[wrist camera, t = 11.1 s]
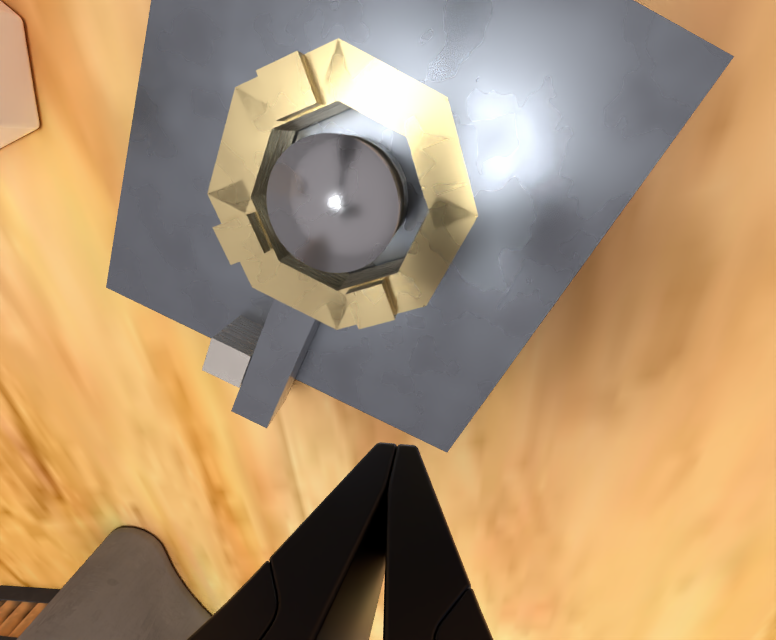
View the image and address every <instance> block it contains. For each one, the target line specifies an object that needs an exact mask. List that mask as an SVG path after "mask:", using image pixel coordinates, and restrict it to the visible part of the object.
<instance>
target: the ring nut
mask: <svg viewBox="0 0 776 640" xmlns="http://www.w3.org/2000/svg"><path fill="white" fill-rule="evenodd" d="M256 72H257V75H258V77H256V78H253V79H251V80H249V81H247V82H245V83H243V84H241V85H239V86H237V87H235V90H234V94H233V97H232V101H231V105H230V109H229V113H228V117H227V120H226V124H225V128H224V132H223V136H222V139H221V143H220V147H219V151H218V155H217V159H216V162H215V166H214V170H213V174H212V178H211V182H210V185H209V189H208V193H207V194H208V196H209V198H210V201H211V203H212V205H213V207H214V209H215V211H216V213H217V215H218V217H219V219H220V221H221V224H220V225H217V226H214V227H212V228H213V230H214V232H215V234H216V236H217V238H218V240H219V242H220V244H221V246H222V248H223V250H224V252H225V254H226V256H227V258H228V260H229V263H230V265H232V264H235V263H238V262H240V263H241V265H242V267H243V269H244V272H245V274H246V276H247V278H248V280H249V282H250V284H251V286H252V288H254V289H256V290H258V291H260V292H262V293H264V294H266V295H268V296H270V297H272V298H274V300H273V303H272V305H271V308H270V311H269V313H268V316H267V319H266V321H265V324H264V326H263V329H262V332H261V334H260V337H259V340H258V342H257V345H256V348H255V350H254V353H253V355H252V358H251V361H250V363H249V366H248V369H247V371H246V374H245V377H244V379H243V382H242V384H241V387H240V390H239V392H238V395H237V398H236V400H235V403H234V406H233V408H232V412H234V413H236V414H238V415H241V416H243V417H245V418H247V419H249V420H251V421H253V422H255V423H257V424H259V425H261V426H263V427H265V428H267V427H268V426H269V424H270V423H271V421H272V420H273V418H274V417H275V415H276V413H277V412H278V410H279V409H280V407H281V406H282V404H283V403H284V401H285V400H286V397H287V395H288V393H289V391H290V389H291V386H292V384H293V382H294V380H295V377H296V375H297V373H298V371H299V369H300V366H301V364H302V362H303V360H304V358H305V355H306V353H307V351H308V349H309V346H310V344H311V342H312V340H313V338H314V335H315V333H316V331H317V329H318V326H319V324H320V322H322V323H324V324H326V325H328V326H330V327H332V328H334V329H336V330H338V329H342V328H346V327H349V326H353V325H357V326H358V329H362V328H366V327H370V326H374V325H377V324H381V323H385V322H389V321H393V320H395V318H396V315H397V314H398V313H402V312H406V311H409V310H413V309H417V308H420V307H424V306H427V304H428V302H429V300H430V299H431V297H432V295H433V293H434V292H435V290H436V288H437V286H438V285H439V283H440V281H441V280H442V278H443V276H444V274H445V273H446V271H447V269H448V267H449V266H450V264H451V262H452V260H453V259H454V257H455V255H456V253H457V252H458V250H459V248H460V247H461V245H462V243H463V241H464V240H465V238H466V236H467V234H468V233H469V231H470V229H471V227H472V226H473V224H474V222H475V220H476V219H477V217H478V213H477V209H476V205H475V201H474V197H473V193H472V190H471V186H470V182H469V178H468V174H467V170H466V166H465V163H464V159H463V155H462V151H461V147H460V143H459V139H458V136H457V132H456V128H455V124H454V120H453V116H452V112H451V108H450V105H449V101H448V97H446V96H444V95H442V94H440V93H439V92H437V91H435V90H433V89H431V88H429V87H428V86H426V85H424V84H422V83H420V82H418V81H417V80H415V79H413V78H411V77H409V76H407V75H405V74H404V73H402V72H400V71H398V70H396V69H394V68H393V67H391V66H389V65H387V64H385V63H383V62H382V61H380V60H378V59H376V58H374V57H372V56H371V55H369V54H367V53H365V52H363V51H361V50H359V49H358V48H356V47H354V46H352V45H350V44H348V43H347V42H345V41H343V40H341V39H339V38H338V39H336V40H334V41H331V42H329V43H327V44H325V45H323V46H321V47H319V48H317V49H315V50H312V51H310V52H308V53H306V54H302V53H301V52H299V51H295V52H293V53H291V54H289V55H287V56H285V57H283V58H281V59H279V60H277V61H275V62H273V63H270V64H268V65H266V66H264V67H262V68H260V69H258V70H256ZM350 108H353V109H355V110H357V111H359V112H361V113H363V114H365V115H366V116H368V117H370V118H372V119H374V120H376V121H378V122H380V123H381V124H383V125H385V126H387V127H389V128H391V129H393V130H395V131H396V132H398V133H400V134H402V135H404V136H406V137H407V139H408V143H409V146H410V149H411V155H412V159H413V162H414V165H415V169H416V172H417V175H418V179H419V182H420V185H421V189H422V192H423V195H424V199H425V200H426V203H427V206H428V210H429V211H428V212H427V214H426V216H425V218H424V220H423V222H422V224H421V226H420V228H419V230H418V232H417V234H416V236H415V238H414V240H413V242H412V243H411V245H410V247H409V249H408V251H407V253H406V255H405V257H404V258H401V259H398V260H395V261H391V262H388V263H385V264H381V265H378V266H375V267H372V268H368V269H365V270H362V271H358V272H355V273H352V274H350V273H348V272H343V273H331V272H324V271H321V270H317V269H314V268H312V267H310V266H308V265H306V264H304V263H302V262H301V261H299V260H298V259H297V258H295V257H294V256H293V255H292V254H291V253H290V252H289V251H288V250H287V249H286V248H285V247H284V246H283V244H282V243H281V242H280V240H279V239H278V237H277V235H276V233H275V231H274V229H273V227H272V224H271V222H270V219H269V215H268V210H267V185H268V181H269V177H270V174H271V171H272V169H273V167H274V165H275V163H276V161H277V160H278V158H279V157H280V156H281V154H282V153H283V152H284V151H285V150H286V149H287V148H288V147H289V146H291V144H292V141H293V138H294V135H295V132H296V131H298V130H300V129H302V128H305V127H307V126H309V125H312V124H314V123H317V122H319V121H321V120H324V119H326V118H328V117H331V116H333V115H336V114H338V113H340V112H343V111H345V110H347V109H350Z"/></svg>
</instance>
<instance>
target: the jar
mask: <svg viewBox="0 0 776 640" xmlns="http://www.w3.org/2000/svg"><path fill="white" fill-rule="evenodd" d="M39 125H40V123H39V117H38V111H37V105H36V99H35V93H34V87H33V80H32V74H31V68H30V62H29V56H28V50H27V44H26V37H25V31H24V25H23V21H22V19H21V18H20V17H19V16H18V15H17V14H16V13H15V12H14V11H13V10H11V9H10V8H9V7H8V6H7V5H5V4H4V3H3V2H2V1H1V0H0V148H2V147H4V146H6V145H8V144H10V143H12V142H14V141H15V140H17V139H19V138H21V137H23V136H25V135H27V134H29V133H31V132H32V131H34V130H36V129H38V127H39Z"/></svg>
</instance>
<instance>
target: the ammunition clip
mask: <svg viewBox="0 0 776 640" xmlns="http://www.w3.org/2000/svg"><path fill="white" fill-rule="evenodd" d="M60 590H61V589H47V588H32V587H18V586H3V585H1V586H0V640H17V638H18V637H19V636H20V635H21V634H22V633H23V632H24V630H25V629H26V628H27V627H28V626H29V625H30V624H31V623H32V621H33V620H34V619H35V618H36V617H37V616H38V615H39V614H40V612H41V611H42V610H43V609H44V608H45V607H46V606H47V605H48V603H49V602H50V601H51V600H52V599H53V598H54V597H55V595H56V594H57V593H58V592H59V591H60Z"/></svg>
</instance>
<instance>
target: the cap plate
mask: <svg viewBox="0 0 776 640" xmlns="http://www.w3.org/2000/svg"><path fill="white" fill-rule="evenodd" d="M338 38H339V39H341V40H343V41H345V42H347V43H348V44H350V45H352V46H354V47H356V48H358V49H359V50H361V51H363V52H365V53H367V54H369V55H371V56H372V57H374V58H376V59H378V60H380V61H382V62H383V63H385V64H387V65H389V66H391V67H393V68H394V69H396V70H398V71H400V72H402V73H404V74H405V75H407V76H409V77H411V78H413V79H415V80H417V81H418V82H420V83H422V84H424V85H426V86H428V87H429V88H431V89H433V90H435V91H437V92H439V93H440V94H442V95H444V96H446V97H448V101H449V105H450V108H451V112H452V116H453V120H454V124H455V128H456V132H457V136H458V139H459V143H460V147H461V151H462V155H463V159H464V163H465V166H466V170H467V174H468V178H469V182H470V186H471V190H472V193H473V197H474V201H475V205H476V209H477V213H478V217H477V219H476V220H475V222H474V224H473V226H472V227H471V229H470V231H469V233H468V234H467V236H466V238H465V240H464V241H463V243H462V245H461V247H460V248H459V250H458V252H457V253H456V255H455V257H454V259H453V260H452V262H451V264H450V266H449V267H448V269H447V271H446V273H445V274H444V276H443V278H442V280H441V281H440V283H439V285H438V286H437V288H436V290H435V292H434V293H433V295H432V297H431V299H430V300H429V302H428V304H427V306H424V307H420V308H417V309H413V310H409V311H406V312H402V313H398V314H397V315H396V318H395V320H393V321H389V322H385V323H381V324H377V325H374V326H370V327H366V328H362V329H358V326H357V325H353V326H349V327H346V328H342V329H338V330H336V329H334V328H332V327H330V326H328V325H326V324H324V323H322V322H320V324H319V326H318V329H317V331H316V333H315V335H314V338H313V340H312V342H311V344H310V346H309V349H308V351H307V353H306V355H305V358H304V360H303V362H302V364H301V366H300V369H299V371H298V373H297V375H296V377H295V379H296V380H298V381H301V382H303V383H305V384H307V385H309V386H311V387H313V388H315V389H317V390H319V391H321V392H323V393H325V394H327V395H329V396H331V397H334V398H336V399H338V400H340V401H342V402H344V403H346V404H348V405H350V406H352V407H354V408H356V409H358V410H360V411H362V412H364V413H367V414H369V415H371V416H373V417H375V418H377V419H379V420H381V421H383V422H385V423H387V424H389V425H391V426H393V427H395V428H398V429H400V430H402V431H404V432H406V433H408V434H410V435H412V436H414V437H416V438H418V439H420V440H422V441H424V442H426V443H428V444H431V445H433V446H435V447H437V448H439V449H441V450H443V451H445V452H448V450H449V449H450V448H451V446H452V445H453V444H454V442H455V441H456V439H457V438H458V437H459V435H460V434H461V433H462V431H463V430H464V428H465V427H466V426H467V424H468V423H469V421H470V420H471V419H472V417H473V416H474V415H475V413H476V412H477V410H478V409H479V408H480V406H481V405H482V404H483V402H484V401H485V399H486V398H487V397H488V395H489V394H490V393H491V391H492V390H493V388H494V387H495V386H496V384H497V383H498V381H499V380H500V379H501V377H502V376H503V375H504V373H505V372H506V370H507V369H508V368H509V366H510V365H511V364H512V362H513V361H514V359H515V358H516V357H517V355H518V354H519V352H520V351H521V350H522V348H523V347H524V346H525V344H526V343H527V341H528V340H529V339H530V337H531V336H532V335H533V333H534V332H535V330H536V329H537V328H538V326H539V325H540V324H541V322H542V321H543V319H544V318H545V317H546V315H547V314H548V312H549V311H550V310H551V308H552V307H553V306H554V304H555V303H556V301H557V300H558V299H559V297H560V296H561V295H562V293H563V292H564V290H565V289H566V288H567V286H568V285H569V283H570V282H571V281H572V279H573V278H574V277H575V275H576V274H577V272H578V271H579V270H580V268H581V267H582V266H583V264H584V263H585V261H586V260H587V259H588V257H589V256H590V255H591V253H592V252H593V250H594V249H595V248H596V246H597V245H598V243H599V242H600V241H601V239H602V238H603V237H604V235H605V234H606V232H607V231H608V230H609V228H610V227H611V226H612V224H613V223H614V221H615V220H616V219H617V217H618V216H619V215H620V213H621V212H622V210H623V209H624V208H625V206H626V205H627V203H628V202H629V201H630V199H631V198H632V197H633V195H634V194H635V192H636V191H637V190H638V188H639V187H640V186H641V184H642V183H643V181H644V180H645V179H646V177H647V176H648V174H649V173H650V172H651V170H652V169H653V168H654V166H655V165H656V163H657V162H658V161H659V159H660V158H661V157H662V155H663V154H664V152H665V151H666V150H667V148H668V147H669V146H670V144H671V143H672V141H673V140H674V139H675V137H676V136H677V134H678V133H679V132H680V130H681V129H682V128H683V126H684V125H685V123H686V122H687V121H688V119H689V118H690V117H691V115H692V114H693V112H694V111H695V110H696V108H697V107H698V105H699V104H700V103H701V101H702V100H703V99H704V97H705V96H706V94H707V93H708V92H709V90H710V89H711V88H712V86H713V85H714V83H715V82H716V81H717V79H718V78H719V77H720V75H721V74H722V72H723V71H724V70H725V68H726V67H727V65H728V64H729V63H730V61H731V60H732V59H733V57H734V56H732V55H730V54H729V53H727V52H725V51H723V50H721V49H720V48H718V47H716V46H714V45H713V44H711V43H709V42H707V41H705V40H704V39H702V38H700V37H698V36H696V35H695V34H693V33H691V32H689V31H687V30H686V29H684V28H682V27H680V26H679V25H677V24H675V23H673V22H671V21H670V20H668V19H666V18H664V17H662V16H661V15H659V14H657V13H655V12H653V11H652V10H650V9H648V8H646V7H645V6H643V5H641V4H639V3H637V2H636V1H634V0H151V6H150V12H149V19H148V25H147V31H146V38H145V44H144V50H143V57H142V63H141V69H140V76H139V82H138V89H137V95H136V101H135V108H134V114H133V120H132V127H131V133H130V139H129V146H128V152H127V158H126V165H125V171H124V177H123V184H122V190H121V196H120V203H119V209H118V216H117V222H116V228H115V235H114V241H113V247H112V254H111V260H110V266H109V273H108V279H107V285H106V288H109V289H111V290H113V291H115V292H117V293H119V294H121V295H123V296H125V297H127V298H129V299H131V300H133V301H135V302H137V303H140V304H142V305H144V306H146V307H148V308H150V309H152V310H154V311H156V312H158V313H160V314H162V315H164V316H166V317H168V318H170V319H173V320H175V321H177V322H179V323H181V324H183V325H185V326H187V327H189V328H191V329H193V330H195V331H197V332H199V333H201V334H203V335H206V336H208V337H210V338H212V339H211V342H210V346H209V349H208V352H207V355H206V359H205V362H204V365H203V368H202V370H203V371H205V372H207V373H209V374H212V375H214V376H216V377H218V378H220V379H222V380H224V381H226V382H228V383H230V384H232V385H234V386H237V387H239V388H240V386H241V384H242V382H243V379H244V377H245V374H246V371H247V369H248V366H249V363H250V361H251V358H252V355H253V353H254V350H255V348H256V345H257V342H258V340H259V337H260V334H261V332H262V329H263V326H264V324H265V321H266V319H267V316H268V313H269V311H270V308H271V305H272V303H273V300H274V298H272V297H270V296H268V295H266V294H264V293H262V292H260V291H258V290H256V289H254V288H252V286H251V284H250V282H249V280H248V278H247V276H246V274H245V272H244V269H243V267H242V265H241V263H240V262H238V263H235V264H232V265H230V263H229V260H228V258H227V256H226V254H225V252H224V250H223V248H222V246H221V244H220V242H219V240H218V238H217V236H216V234H215V232H214V230H213V228H212V227H214V226H217V225H220V224H221V221H220V219H219V217H218V215H217V213H216V211H215V209H214V207H213V205H212V203H211V201H210V198H209V196H208V194H207V193H208V189H209V185H210V182H211V178H212V174H213V170H214V166H215V162H216V159H217V155H218V151H219V147H220V143H221V139H222V136H223V132H224V128H225V124H226V120H227V117H228V113H229V109H230V105H231V101H232V97H233V94H234V90H235V87H237V86H239V85H241V84H243V83H245V82H247V81H249V80H251V79H253V78H256V77H258V75H257V72H256V70H258V69H260V68H262V67H264V66H266V65H268V64H270V63H273V62H275V61H277V60H279V59H281V58H283V57H285V56H287V55H289V54H291V53H293V52H295V51H299V52H301V53H302V54H306V53H308V52H310V51H312V50H315V49H317V48H319V47H321V46H323V45H325V44H327V43H329V42H331V41H334V40H336V39H338ZM267 210H268V215H269V219H270V222H271V224H272V227H273V229H274V231H275V233H276V235H277V237H278V239H279V240H280V242H281V243H282V244H283V246H284V247H285V248H286V249H287V250H288V251H289V252H290V253H291V254H292V255H293V256H294V257H295V258H297V259H298V260H299V261H301V262H302V263H304V264H306V265H308V266H310V267H312V268H314V269H317V270H321V271H324V272H331V273H343V272H348V273H350V274H352V273H355V272H358V271H362V270H365V269H368V268H372V267H375V266H378V265H381V264H385V263H388V262H391V261H395V260H398V259H401V258H404V257H405V255H406V253H407V251H408V249H409V247H410V245H411V243H412V242H413V240H414V238H415V236H416V234H417V232H418V230H419V228H420V226H421V224H422V222H423V220H424V218H425V216H426V214H427V212H428V211H429V210H428V206H427V203H426V200H425V199H424V195H423V192H422V189H421V185H420V182H419V179H418V175H417V172H416V169H415V165H414V162H413V159H412V155H411V149H410V146H409V143H408V139H407V137H406V136H404V135H402V134H400V133H398V132H396V131H395V130H393V129H391V128H389V127H387V126H385V125H383V124H381V123H380V122H378V121H376V120H374V119H372V118H370V117H368V116H366V115H365V114H363V113H361V112H359V111H357V110H355V109H353V108H350V109H347V110H345V111H343V112H340V113H338V114H336V115H333V116H331V117H328V118H326V119H324V120H321V121H319V122H317V123H314V124H312V125H309V126H307V127H305V128H302V129H300V130H298V131H296V132H295V135H294V138H293V141H292V144H291V146H289V147H288V148H287V149H286V150H285V151H284V152H283V153H282V154H281V156H280V157H279V158H278V160H277V161H276V163H275V165H274V167H273V169H272V171H271V174H270V177H269V181H268V185H267Z"/></svg>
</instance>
